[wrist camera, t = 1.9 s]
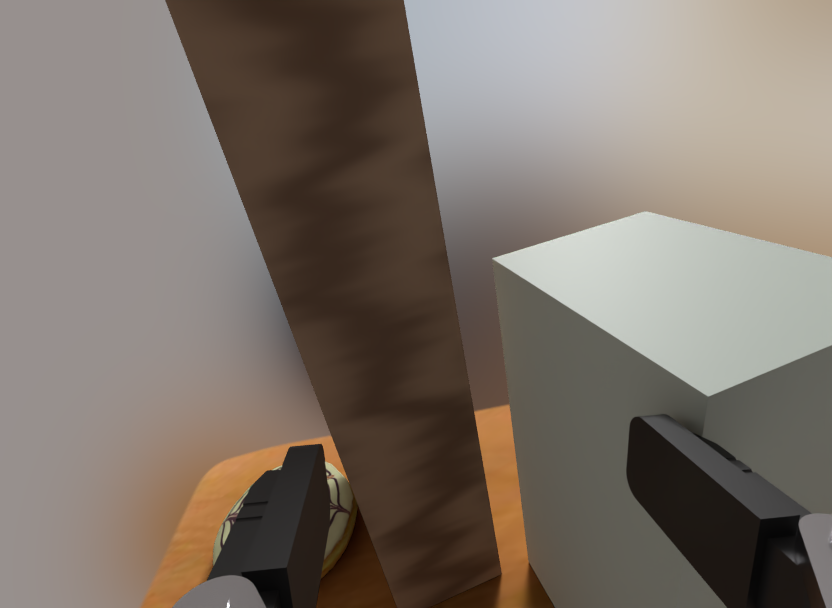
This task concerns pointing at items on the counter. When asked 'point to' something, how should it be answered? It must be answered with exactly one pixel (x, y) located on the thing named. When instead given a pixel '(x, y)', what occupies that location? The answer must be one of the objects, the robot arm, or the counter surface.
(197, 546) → the counter surface
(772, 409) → the grey-green block
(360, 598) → the counter surface
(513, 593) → the counter surface
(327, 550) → the decorated donut
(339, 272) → the walnut pillar
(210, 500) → the counter surface
